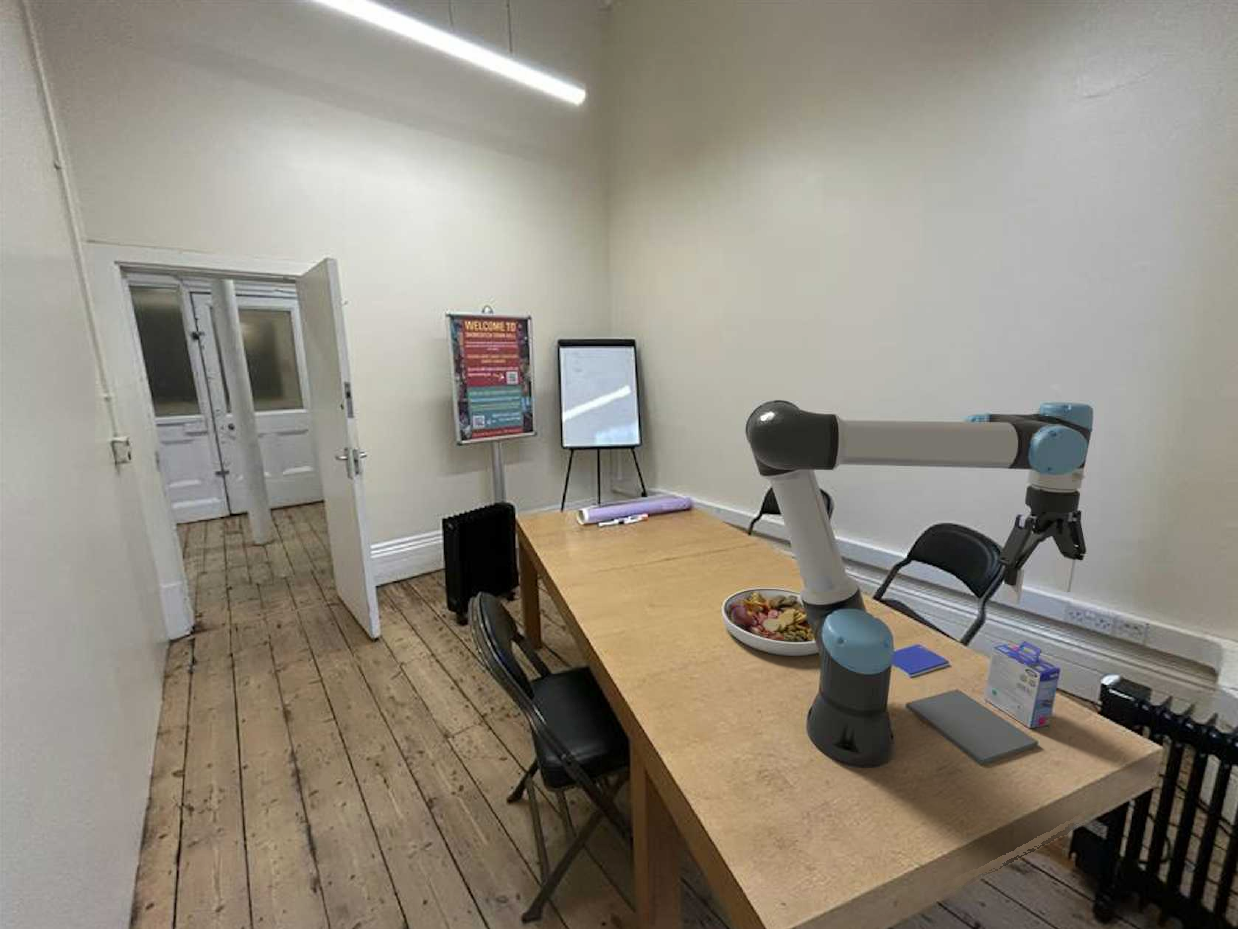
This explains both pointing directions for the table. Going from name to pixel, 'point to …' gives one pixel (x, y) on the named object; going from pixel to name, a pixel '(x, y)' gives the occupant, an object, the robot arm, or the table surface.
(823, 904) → the table surface
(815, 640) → the robot arm
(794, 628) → the bowl
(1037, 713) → the ink cartridge box
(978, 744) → the rubber mat
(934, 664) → the blue book
